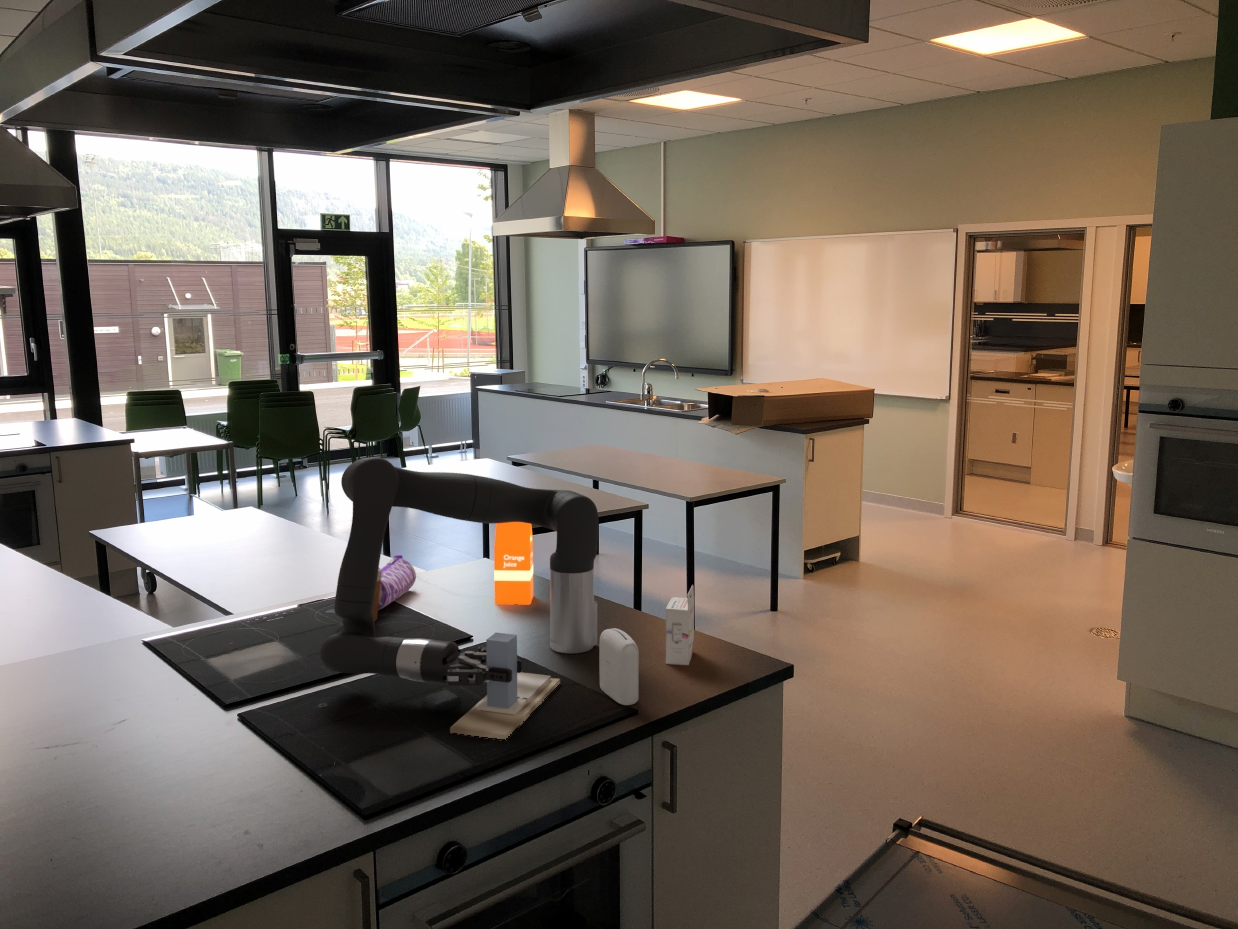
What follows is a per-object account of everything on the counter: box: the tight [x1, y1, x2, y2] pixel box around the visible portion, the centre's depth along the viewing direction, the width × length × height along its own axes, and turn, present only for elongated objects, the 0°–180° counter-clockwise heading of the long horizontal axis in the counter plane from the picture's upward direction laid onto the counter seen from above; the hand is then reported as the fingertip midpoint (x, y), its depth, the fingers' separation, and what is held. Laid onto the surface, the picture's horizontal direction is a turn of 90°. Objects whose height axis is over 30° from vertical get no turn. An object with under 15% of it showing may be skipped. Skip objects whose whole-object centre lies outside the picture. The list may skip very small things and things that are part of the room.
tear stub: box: [478, 632, 526, 715], centre depth 163 cm, size 5×7×13 cm
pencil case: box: [378, 554, 417, 611], centre depth 231 cm, size 22×9×10 cm, turn 175°
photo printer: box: [598, 628, 640, 706], centre depth 171 cm, size 10×4×12 cm, turn 26°
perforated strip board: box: [449, 671, 561, 741], centre depth 167 cm, size 26×10×2 cm, turn 163°
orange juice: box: [493, 522, 534, 606], centre depth 231 cm, size 8×9×20 cm
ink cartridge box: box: [665, 584, 695, 666], centre depth 191 cm, size 9×5×15 cm, turn 168°
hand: (516, 671), depth 162 cm, fingers open, 4 cm apart
